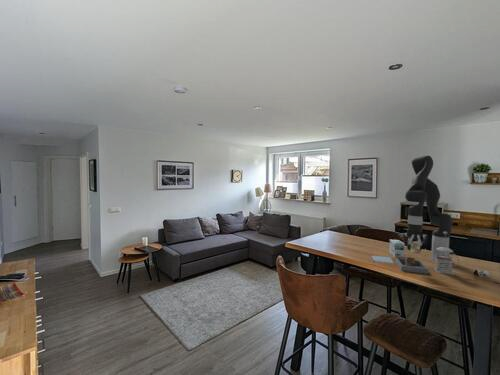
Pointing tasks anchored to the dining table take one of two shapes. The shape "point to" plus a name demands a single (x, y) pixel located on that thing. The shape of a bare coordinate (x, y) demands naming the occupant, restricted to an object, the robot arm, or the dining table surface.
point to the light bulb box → (397, 248)
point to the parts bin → (418, 266)
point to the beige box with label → (415, 247)
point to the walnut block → (409, 261)
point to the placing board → (382, 259)
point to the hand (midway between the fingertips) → (414, 250)
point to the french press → (442, 262)
